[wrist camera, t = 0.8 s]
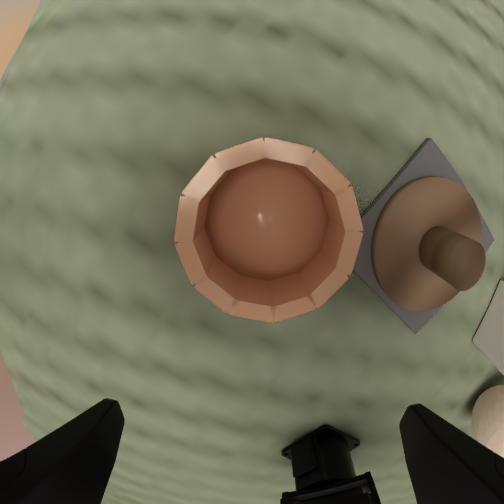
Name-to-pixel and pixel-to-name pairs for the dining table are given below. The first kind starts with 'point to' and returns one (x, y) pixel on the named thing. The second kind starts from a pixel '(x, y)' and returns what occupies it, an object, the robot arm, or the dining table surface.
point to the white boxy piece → (493, 330)
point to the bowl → (268, 230)
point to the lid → (427, 243)
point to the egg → (490, 419)
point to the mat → (419, 165)
